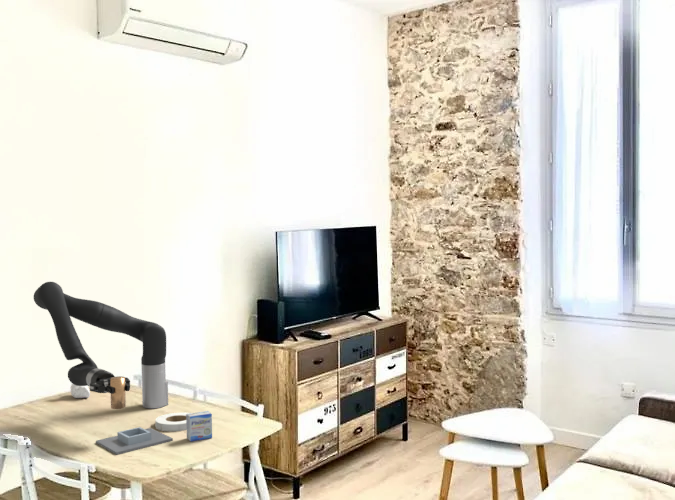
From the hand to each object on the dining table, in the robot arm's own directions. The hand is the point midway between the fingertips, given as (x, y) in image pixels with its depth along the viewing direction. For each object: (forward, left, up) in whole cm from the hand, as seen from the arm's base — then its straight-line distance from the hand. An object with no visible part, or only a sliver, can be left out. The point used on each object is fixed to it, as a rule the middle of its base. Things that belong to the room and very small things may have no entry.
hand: (120, 389), depth 235 cm
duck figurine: (-12, -68, -18) cm, 71 cm away
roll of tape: (-23, -5, -19) cm, 30 cm away
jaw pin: (0, -2, -6) cm, 7 cm away
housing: (-3, +2, -18) cm, 19 cm away
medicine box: (-21, +14, -18) cm, 32 cm away
